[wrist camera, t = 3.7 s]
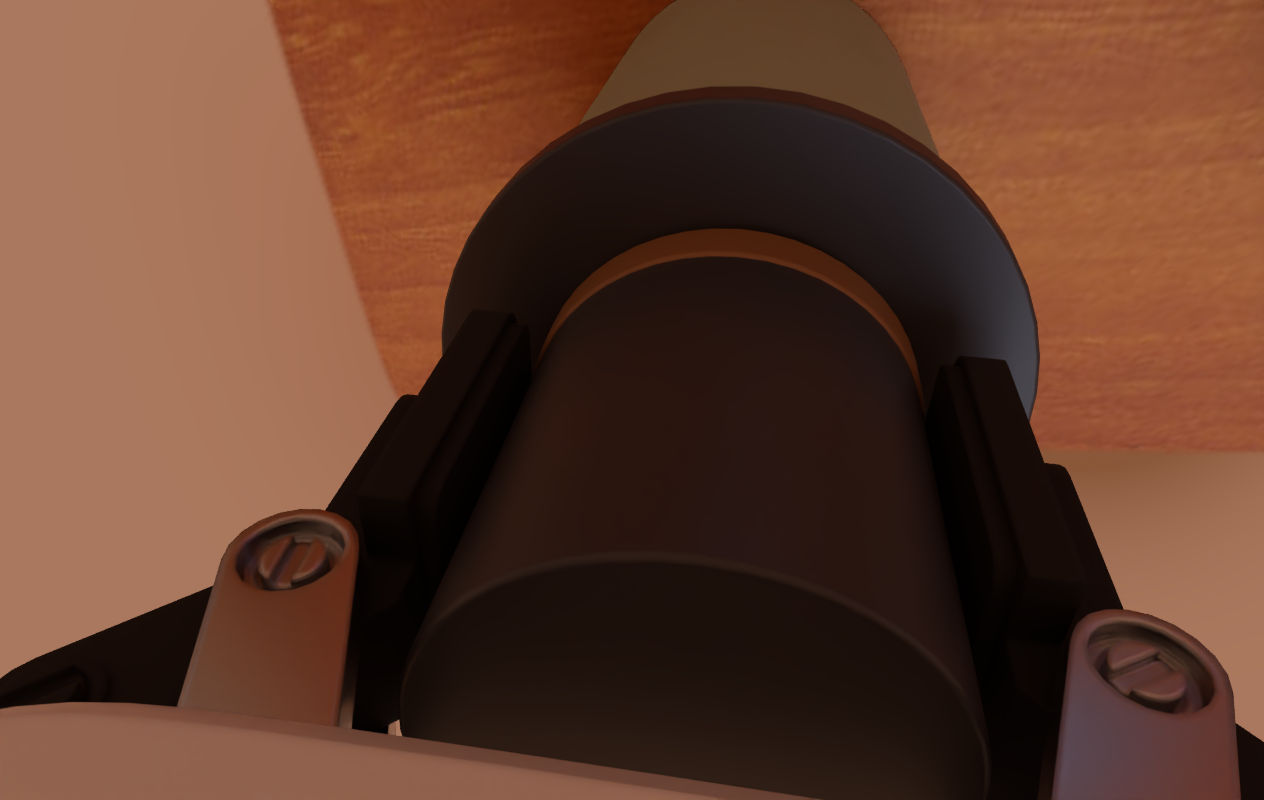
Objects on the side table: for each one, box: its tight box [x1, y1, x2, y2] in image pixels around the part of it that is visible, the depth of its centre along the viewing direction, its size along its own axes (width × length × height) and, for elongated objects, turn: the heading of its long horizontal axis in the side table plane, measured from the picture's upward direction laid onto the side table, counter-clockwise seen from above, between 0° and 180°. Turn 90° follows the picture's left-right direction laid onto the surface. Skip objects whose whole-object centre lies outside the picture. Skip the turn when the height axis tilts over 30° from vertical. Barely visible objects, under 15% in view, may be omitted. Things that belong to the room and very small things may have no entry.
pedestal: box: [578, 0, 940, 158], centre depth 18 cm, size 8×8×11 cm
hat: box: [398, 86, 1040, 800], centre depth 11 cm, size 8×8×7 cm
